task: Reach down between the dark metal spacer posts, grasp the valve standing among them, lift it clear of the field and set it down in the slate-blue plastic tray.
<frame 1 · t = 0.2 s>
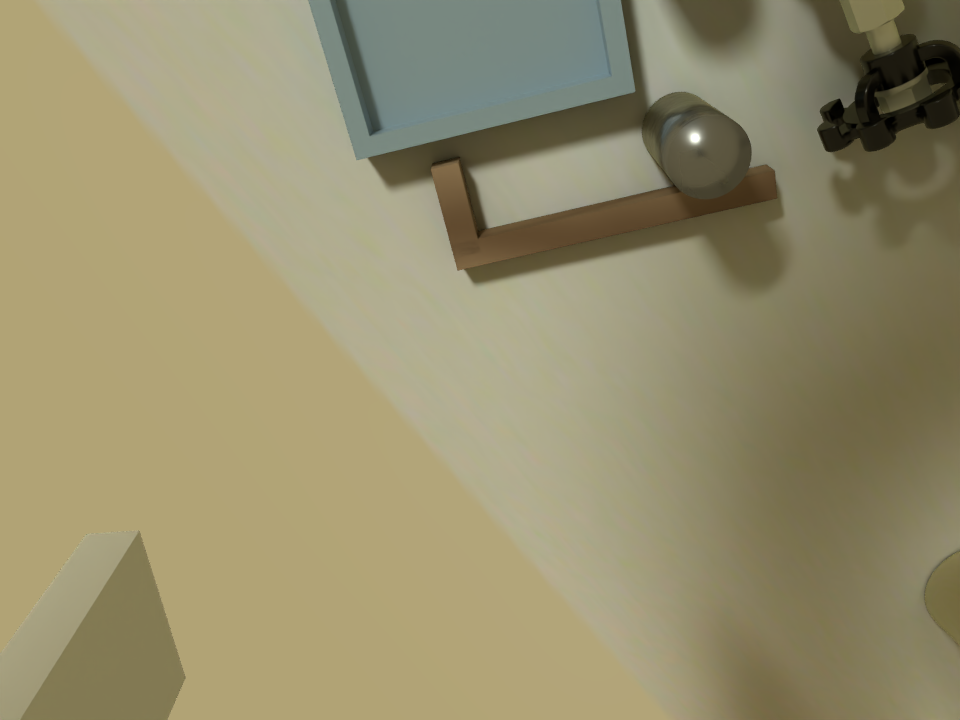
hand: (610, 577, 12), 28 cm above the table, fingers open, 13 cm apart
hook tool: (608, 214, 38), on the table
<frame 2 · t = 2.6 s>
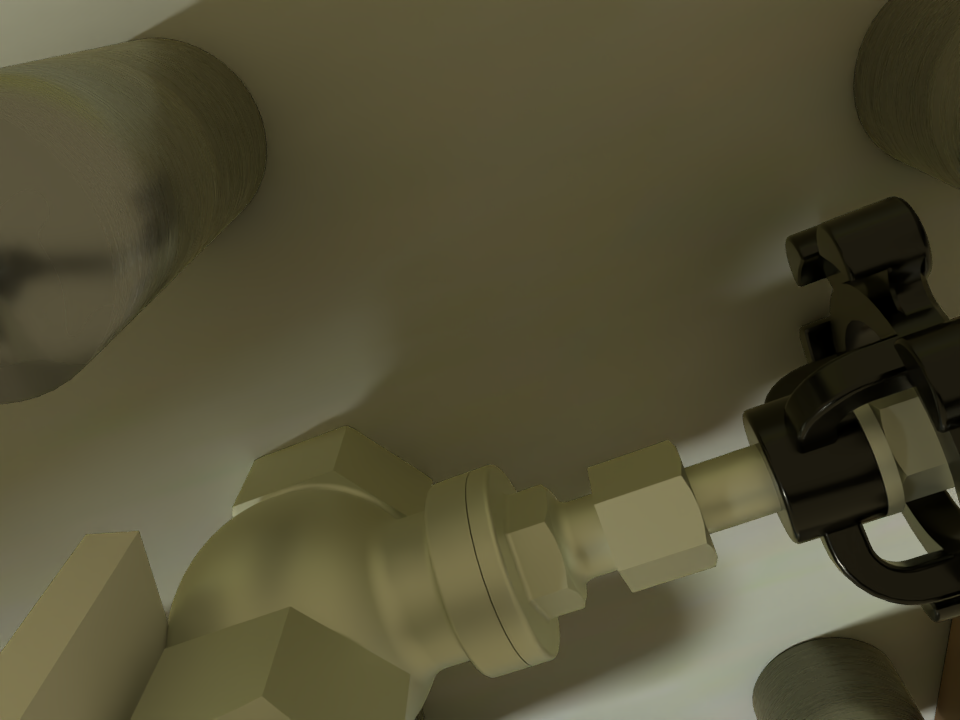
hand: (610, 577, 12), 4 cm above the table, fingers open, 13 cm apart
spacers: (572, 443, 16), on the table
valve: (531, 435, 16), on the table, touching gripper
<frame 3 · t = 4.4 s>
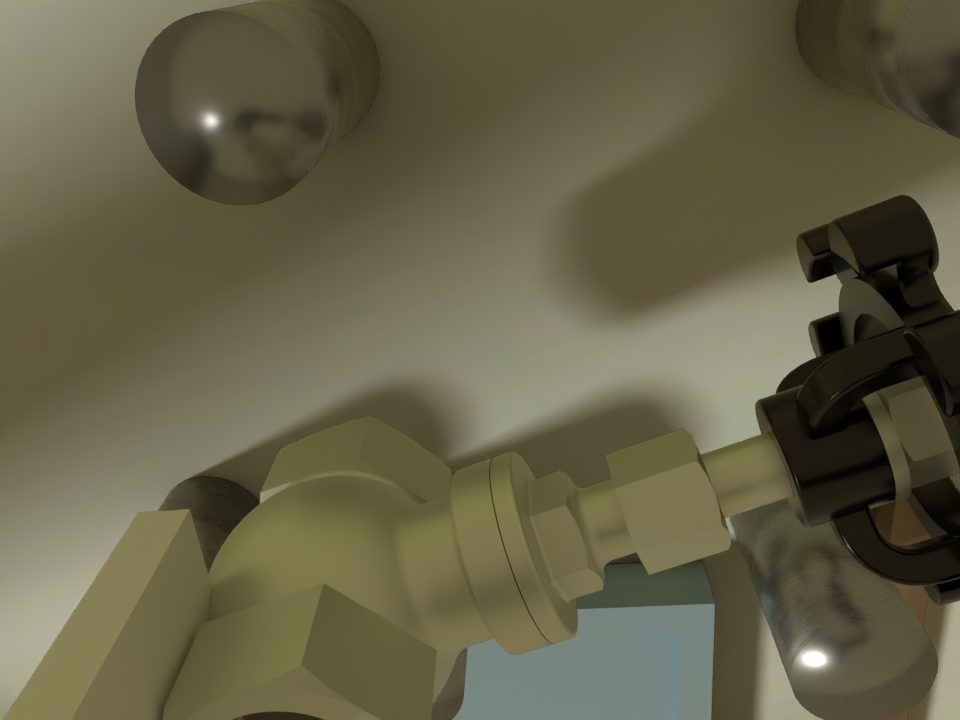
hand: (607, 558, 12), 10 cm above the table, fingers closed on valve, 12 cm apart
spacers: (593, 299, 21), on the table
hook tool: (883, 601, 25), on the table
valve: (548, 426, 16), point 5 cm above the table, touching gripper
tray: (514, 713, 27), on the table
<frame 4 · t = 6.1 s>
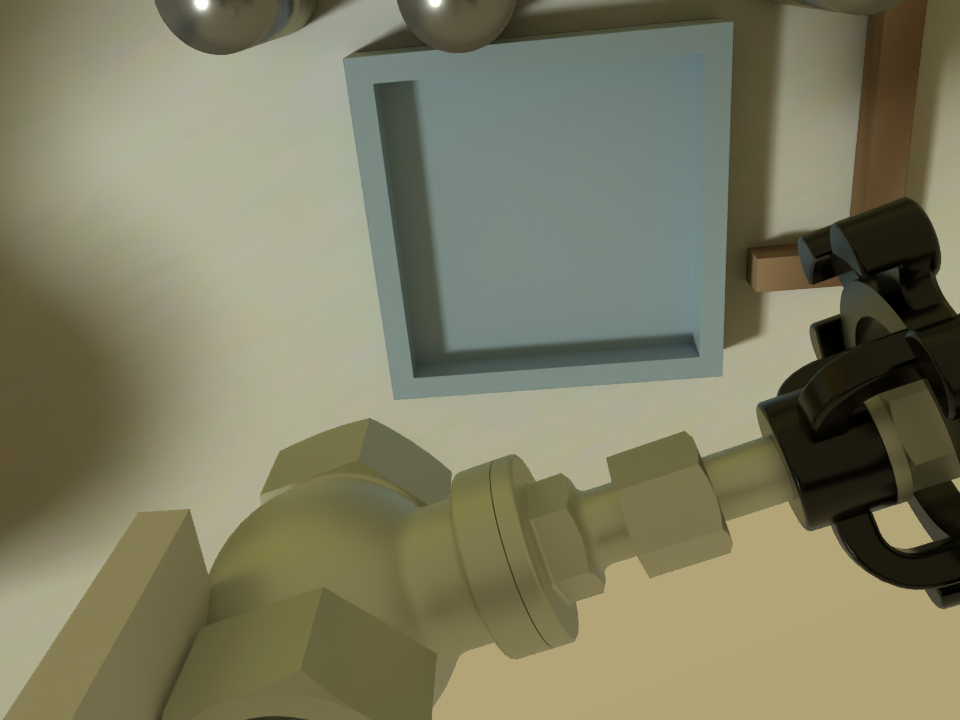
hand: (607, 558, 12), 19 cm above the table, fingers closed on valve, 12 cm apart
hook tool: (883, 62, 27), on the table
valve: (548, 428, 16), point 15 cm above the table, touching gripper
tray: (544, 214, 29), on the table
when the fingers open (6 cm above the table, at t = 8.2 s): valve stays where it is, resting on tray.
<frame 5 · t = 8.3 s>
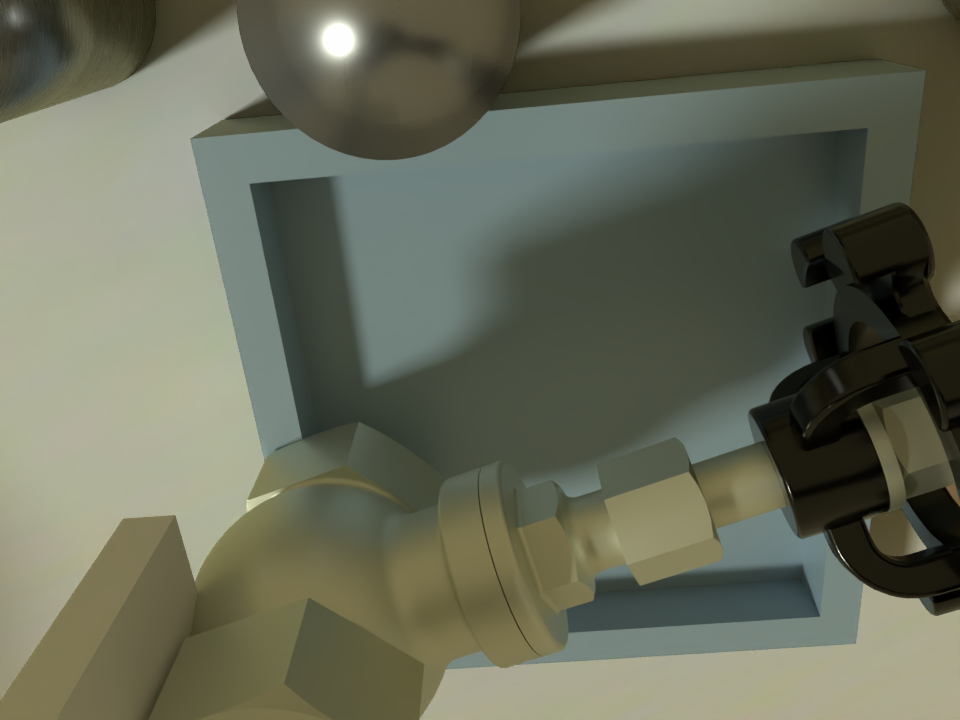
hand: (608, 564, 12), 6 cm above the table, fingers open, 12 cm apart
valve: (539, 431, 16), point 2 cm above the table, touching gripper, tray
tray: (560, 382, 18), on the table
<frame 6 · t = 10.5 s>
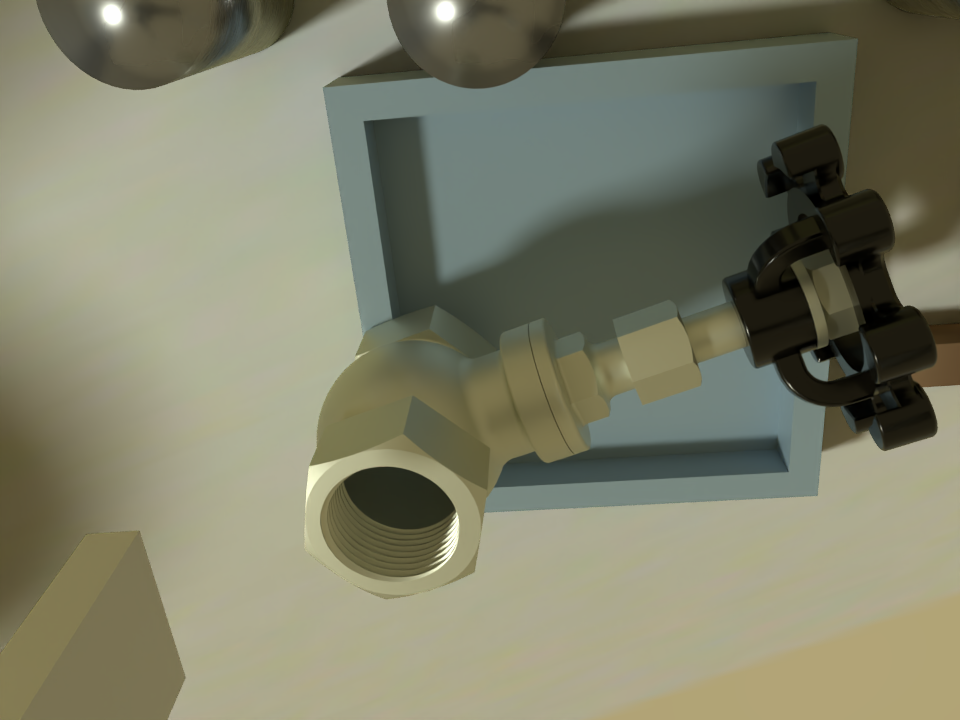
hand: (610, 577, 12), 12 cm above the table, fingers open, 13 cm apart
valve: (570, 316, 21), point 2 cm above the table, touching tray
tray: (588, 285, 23), on the table
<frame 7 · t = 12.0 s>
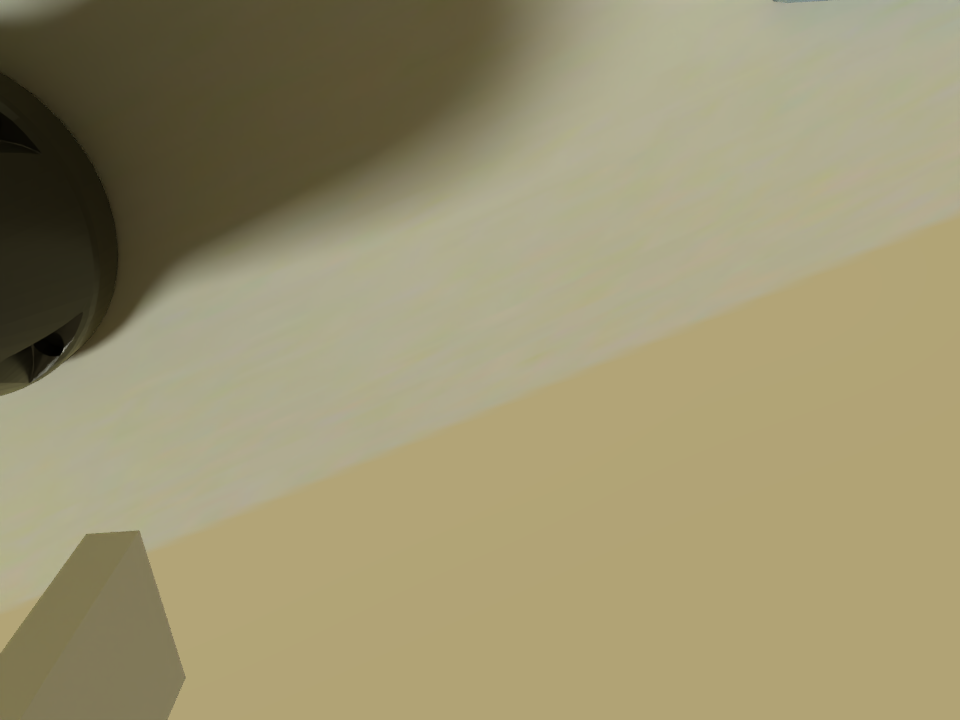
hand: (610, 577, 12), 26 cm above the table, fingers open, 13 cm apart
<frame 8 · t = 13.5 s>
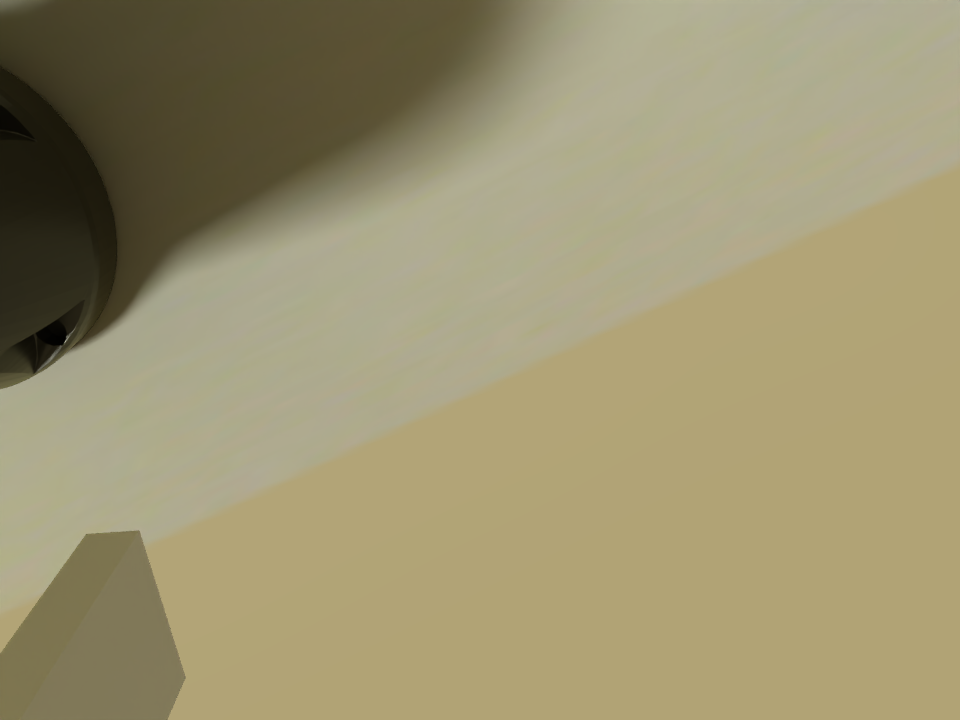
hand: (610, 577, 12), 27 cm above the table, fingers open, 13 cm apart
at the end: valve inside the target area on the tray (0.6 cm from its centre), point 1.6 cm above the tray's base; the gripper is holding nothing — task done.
